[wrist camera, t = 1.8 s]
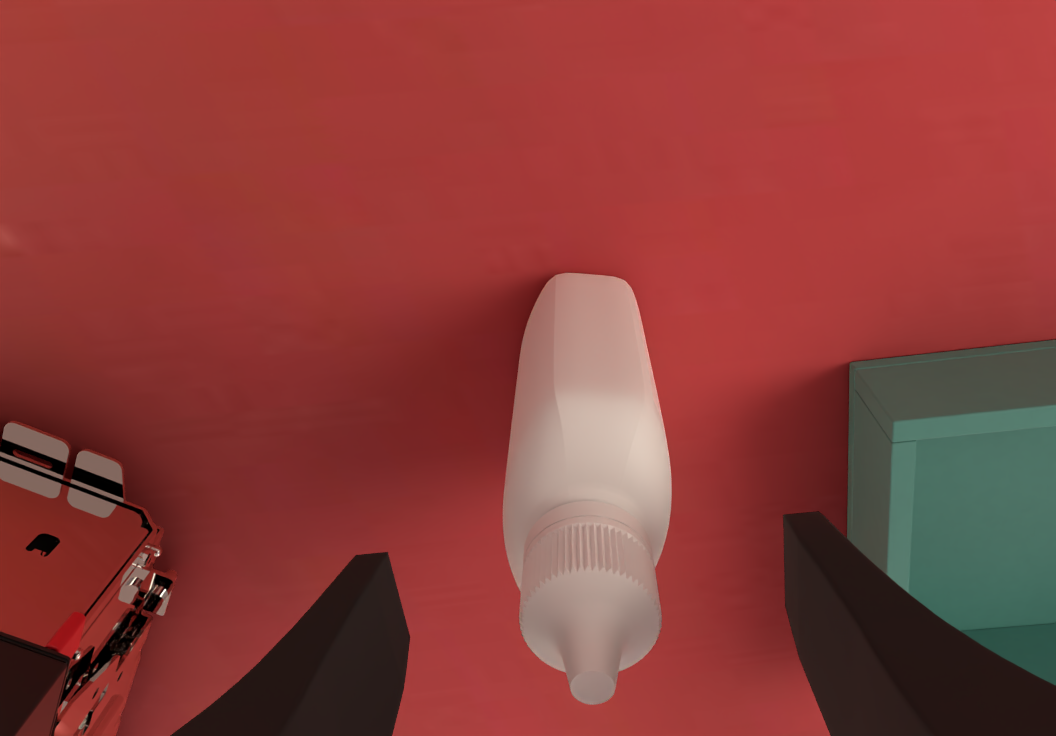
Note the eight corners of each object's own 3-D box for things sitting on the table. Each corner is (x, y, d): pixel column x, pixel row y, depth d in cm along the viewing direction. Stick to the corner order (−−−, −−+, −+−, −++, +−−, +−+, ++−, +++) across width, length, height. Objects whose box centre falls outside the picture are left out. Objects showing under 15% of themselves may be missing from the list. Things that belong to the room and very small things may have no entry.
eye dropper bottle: (703, 326, 23) (824, 635, 12) (587, 470, 25) (603, 842, 15) (572, 240, 22) (579, 493, 12) (463, 397, 25) (381, 735, 14)
